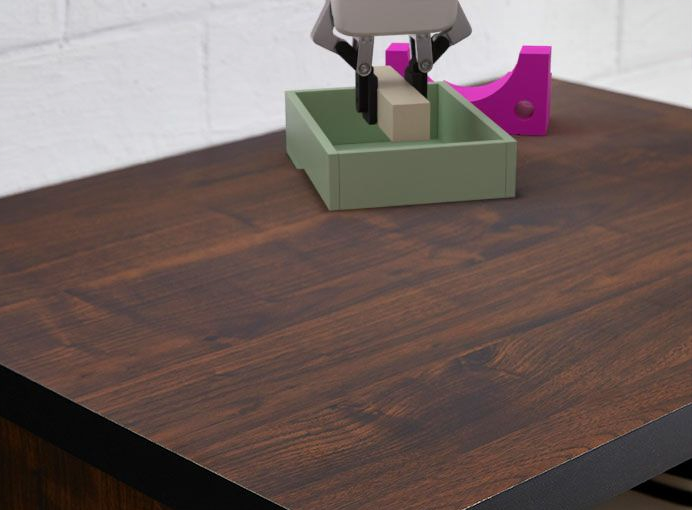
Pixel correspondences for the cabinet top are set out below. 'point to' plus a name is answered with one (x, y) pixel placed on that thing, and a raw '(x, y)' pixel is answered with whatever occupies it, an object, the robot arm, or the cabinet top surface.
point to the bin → (397, 152)
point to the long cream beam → (401, 108)
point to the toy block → (504, 90)
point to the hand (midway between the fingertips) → (391, 117)
